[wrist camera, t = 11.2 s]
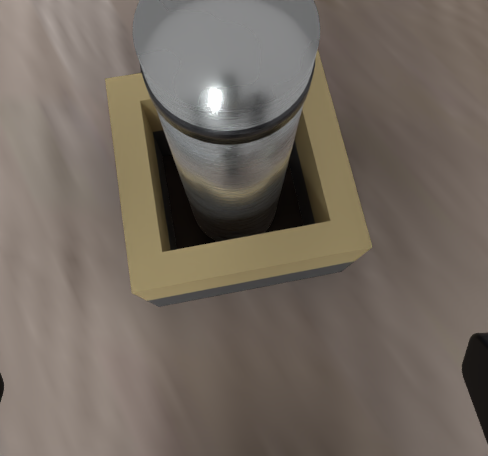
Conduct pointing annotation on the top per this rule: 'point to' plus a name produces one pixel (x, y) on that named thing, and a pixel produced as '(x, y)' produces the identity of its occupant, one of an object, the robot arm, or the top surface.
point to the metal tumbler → (229, 99)
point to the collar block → (245, 248)
